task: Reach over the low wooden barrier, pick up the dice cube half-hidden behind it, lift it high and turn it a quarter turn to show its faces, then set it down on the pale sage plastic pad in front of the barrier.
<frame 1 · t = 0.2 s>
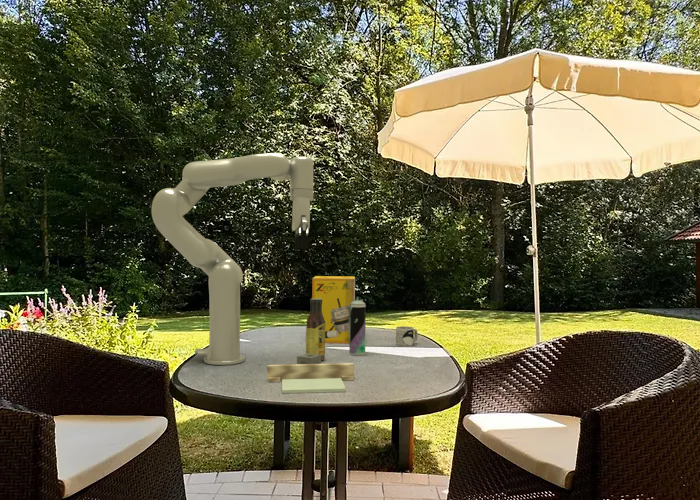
hand: (301, 248, 173), 36 cm above the table, tool pointing down, fingers open, 9 cm apart
spray can: (357, 354, 184), on the table
packaging box: (333, 340, 213), on the table
sauce bottle: (315, 360, 174), on the table
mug: (407, 345, 204), on the table
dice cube: (308, 373, 156), on the table
wooden barrier: (311, 379, 148), on the table
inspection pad: (313, 386, 140), on the table
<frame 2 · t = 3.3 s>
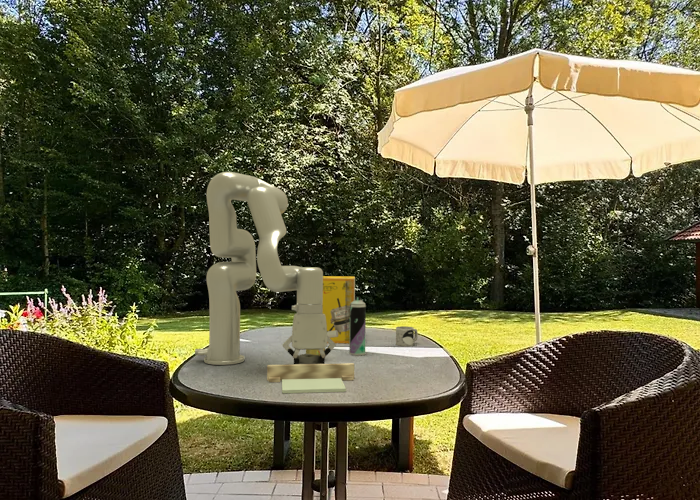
hand: (308, 370, 156), 1 cm above the table, tool pointing down, fingers closed on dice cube, 6 cm apart
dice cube: (307, 373, 156), on the table, touching gripper
everything else where it was.
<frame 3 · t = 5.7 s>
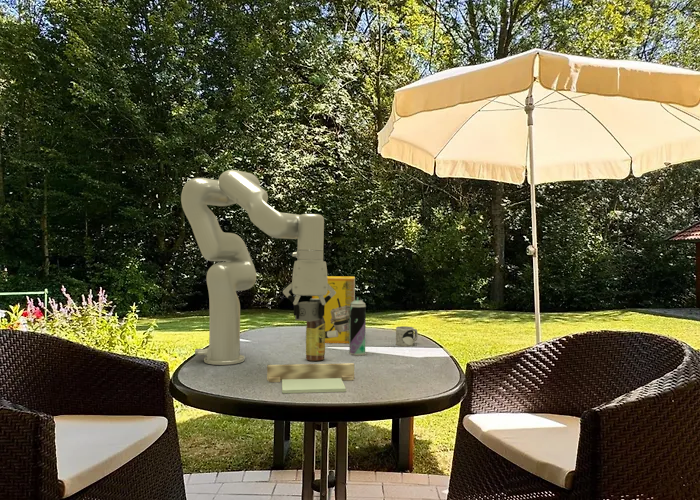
hand: (308, 317, 155), 16 cm above the table, tool pointing down, fingers closed on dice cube, 6 cm apart
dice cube: (307, 320, 155), point 15 cm above the table, touching gripper
everything else where it was.
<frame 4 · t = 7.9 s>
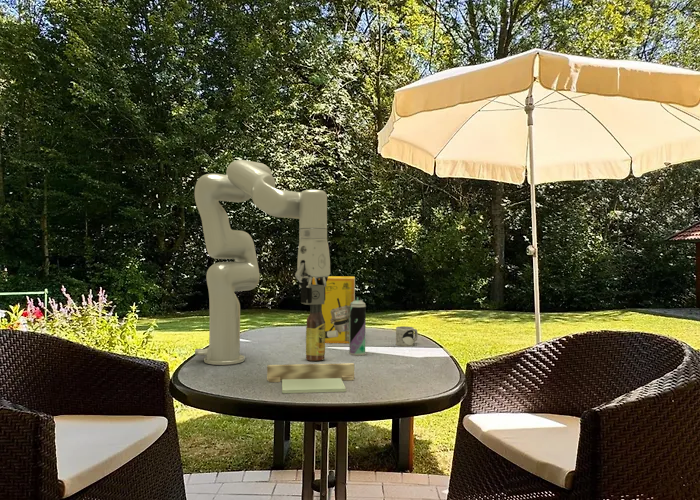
hand: (313, 301, 145), 22 cm above the table, tool pointing down, fingers closed on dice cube, 6 cm apart
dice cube: (312, 304, 145), point 21 cm above the table, touching gripper
everything else where it was.
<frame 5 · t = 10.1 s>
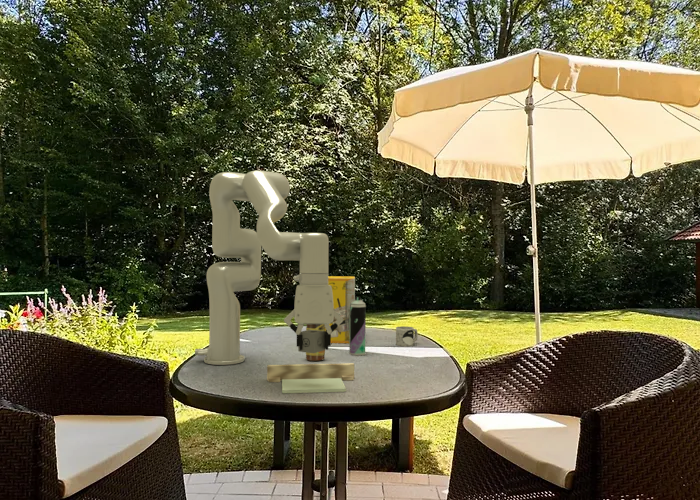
hand: (313, 348, 139), 10 cm above the table, tool pointing down, fingers closed on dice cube, 6 cm apart
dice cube: (311, 351, 139), point 9 cm above the table, touching gripper
everything else where it was.
when the fingers open (3 cm above the table, at t = 12.0 s): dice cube drops 1 cm, resting on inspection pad.
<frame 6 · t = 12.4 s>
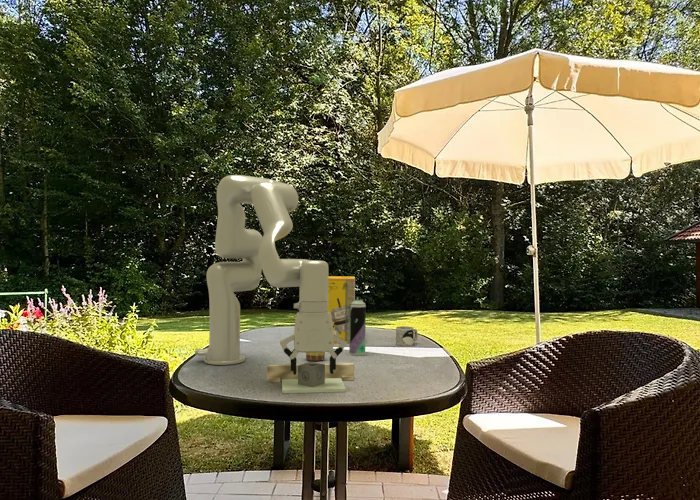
hand: (313, 373, 140), 4 cm above the table, tool pointing down, fingers open, 9 cm apart
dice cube: (311, 384, 140), point 1 cm above the table, touching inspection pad
everything else where it was.
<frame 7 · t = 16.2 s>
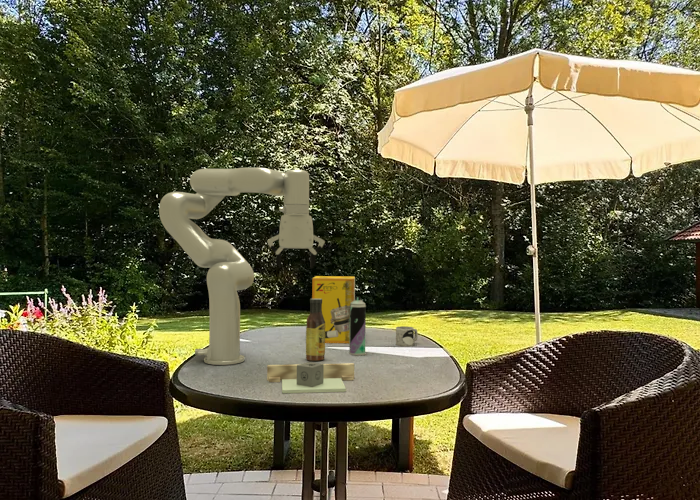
hand: (295, 267, 161), 30 cm above the table, tool pointing down, fingers open, 9 cm apart
nothing on the table moved.
at the end: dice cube inside the target area on the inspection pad (0.8 cm from its centre), point 0.6 cm above the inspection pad's base; the gripper is holding nothing; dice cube moved 16.5 cm from its start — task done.
